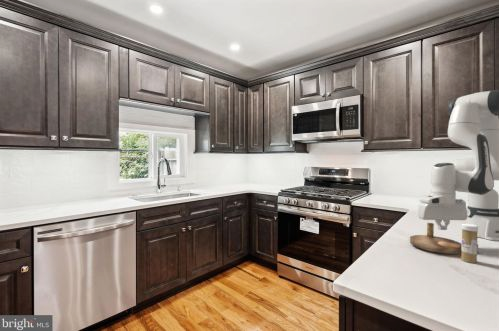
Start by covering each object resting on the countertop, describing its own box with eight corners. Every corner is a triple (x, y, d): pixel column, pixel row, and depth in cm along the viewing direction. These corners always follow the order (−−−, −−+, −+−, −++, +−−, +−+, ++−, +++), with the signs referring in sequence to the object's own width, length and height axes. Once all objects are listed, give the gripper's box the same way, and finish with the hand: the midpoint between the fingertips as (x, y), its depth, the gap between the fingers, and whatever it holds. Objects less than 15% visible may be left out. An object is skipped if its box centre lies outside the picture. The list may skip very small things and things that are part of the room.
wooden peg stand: (452, 242, 110) (453, 224, 110) (472, 256, 93) (472, 235, 93) (405, 237, 117) (406, 220, 117) (415, 249, 100) (416, 230, 100)
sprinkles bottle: (457, 258, 93) (458, 223, 93) (468, 258, 94) (469, 223, 94) (469, 263, 89) (470, 226, 89) (481, 263, 89) (481, 226, 89)
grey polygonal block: (476, 252, 101) (476, 243, 101) (478, 253, 99) (478, 244, 99) (463, 250, 102) (463, 242, 102) (464, 252, 101) (465, 243, 101)
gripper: (459, 198, 115) (458, 228, 115) (415, 197, 114) (415, 227, 115) (471, 200, 109) (471, 231, 109) (426, 199, 108) (425, 231, 108)
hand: (442, 229), depth 112 cm, fingers closed
